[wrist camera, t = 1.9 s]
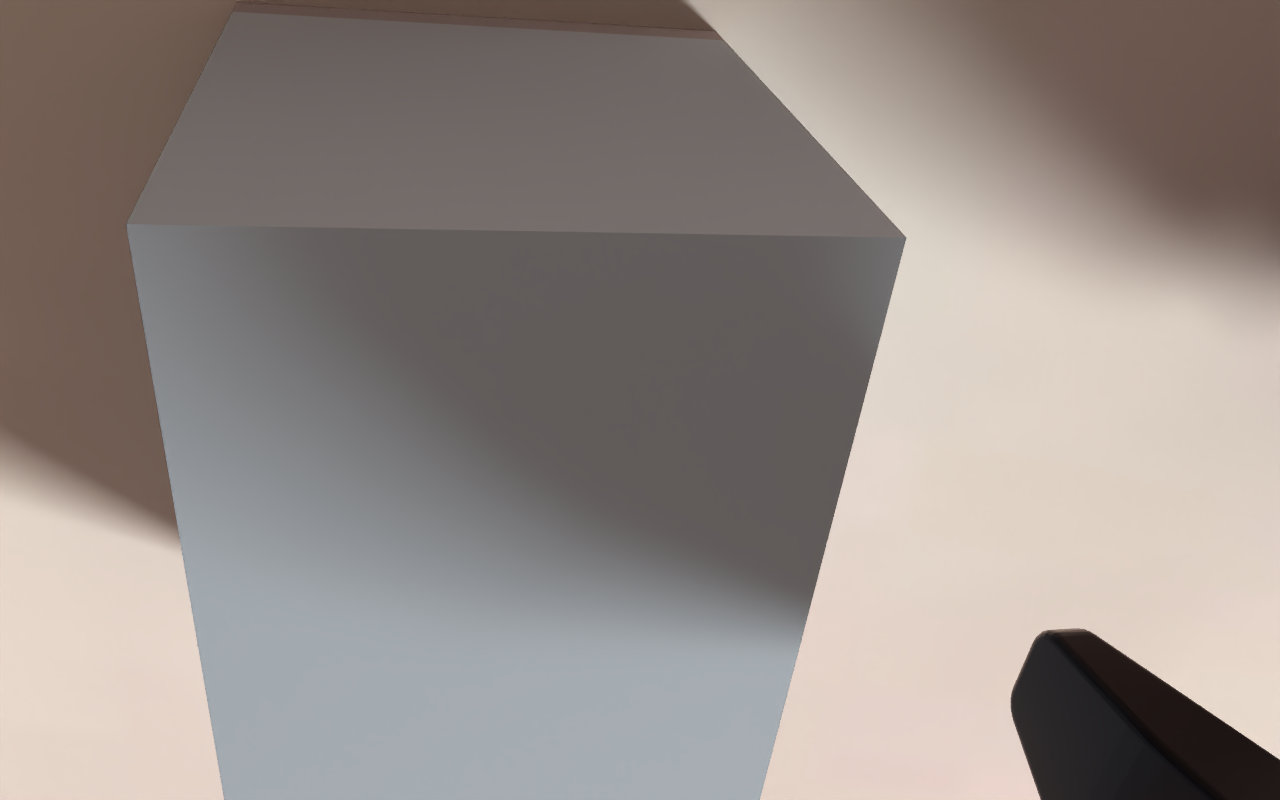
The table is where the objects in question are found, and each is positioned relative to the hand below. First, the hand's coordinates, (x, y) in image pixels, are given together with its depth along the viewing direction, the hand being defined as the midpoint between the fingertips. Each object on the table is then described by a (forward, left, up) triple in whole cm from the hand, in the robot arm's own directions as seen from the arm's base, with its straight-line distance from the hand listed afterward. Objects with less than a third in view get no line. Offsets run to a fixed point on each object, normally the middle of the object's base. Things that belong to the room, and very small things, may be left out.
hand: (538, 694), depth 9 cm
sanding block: (0, 0, -6) cm, 6 cm away
